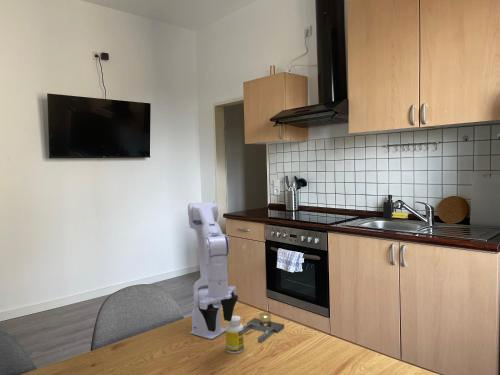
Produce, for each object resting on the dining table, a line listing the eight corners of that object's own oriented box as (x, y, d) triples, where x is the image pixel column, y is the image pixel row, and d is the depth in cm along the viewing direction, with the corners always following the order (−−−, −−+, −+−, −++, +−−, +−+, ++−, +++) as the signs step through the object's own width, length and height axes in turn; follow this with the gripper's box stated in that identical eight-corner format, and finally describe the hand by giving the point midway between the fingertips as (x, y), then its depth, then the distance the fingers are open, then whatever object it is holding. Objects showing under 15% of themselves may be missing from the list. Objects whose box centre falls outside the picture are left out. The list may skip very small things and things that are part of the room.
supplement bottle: (241, 354, 108) (240, 322, 108) (224, 353, 109) (222, 321, 109) (245, 346, 113) (244, 314, 113) (228, 344, 114) (227, 314, 114)
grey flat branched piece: (232, 335, 121) (232, 323, 120) (254, 320, 132) (254, 309, 132) (264, 344, 114) (263, 331, 114) (284, 327, 125) (284, 315, 125)
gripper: (213, 288, 95) (215, 338, 96) (243, 273, 108) (245, 318, 108) (192, 284, 99) (194, 333, 100) (224, 270, 111) (226, 314, 112)
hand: (219, 325), depth 104 cm, fingers open, 7 cm apart
